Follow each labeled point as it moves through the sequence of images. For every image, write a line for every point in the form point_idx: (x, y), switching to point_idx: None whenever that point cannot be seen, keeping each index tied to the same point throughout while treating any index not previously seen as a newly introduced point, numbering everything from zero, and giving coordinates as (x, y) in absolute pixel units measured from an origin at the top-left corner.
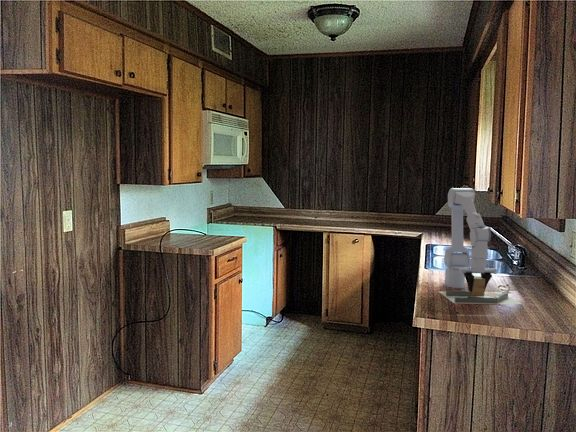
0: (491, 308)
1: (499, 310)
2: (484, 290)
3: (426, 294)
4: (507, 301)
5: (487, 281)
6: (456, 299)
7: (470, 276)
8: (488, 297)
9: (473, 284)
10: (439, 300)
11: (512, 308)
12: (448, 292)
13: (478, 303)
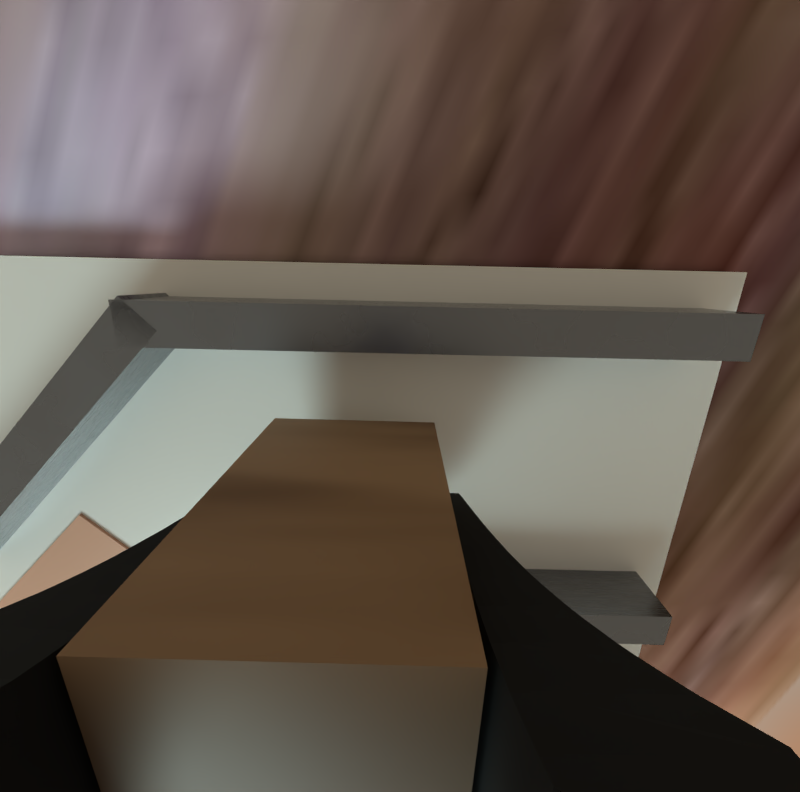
0: (295, 136)
1: (217, 26)
2: (241, 456)
3: (754, 653)
4: (3, 372)
5: (49, 603)
6: (728, 312)
7: (750, 776)
8: (239, 333)
9: (455, 543)
10: (762, 469)
11: (8, 143)
12: (642, 602)
13: (416, 271)
